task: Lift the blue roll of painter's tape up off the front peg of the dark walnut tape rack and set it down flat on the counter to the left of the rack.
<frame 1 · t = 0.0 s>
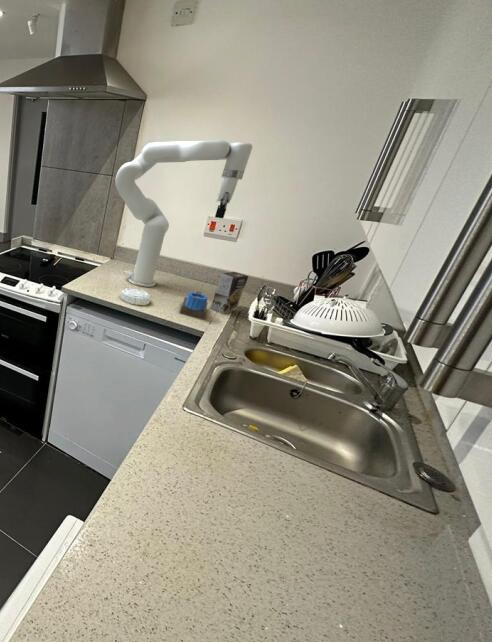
hand: (219, 216, 168), 37 cm above the worktop, tool pointing down, fingers open, 9 cm apart
coffee box: (222, 310, 169), on the worktop
tape roll: (194, 306, 161), point 3 cm above the worktop, touching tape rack
mooncake: (134, 300, 171), on the worktop
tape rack: (192, 310, 165), on the worktop
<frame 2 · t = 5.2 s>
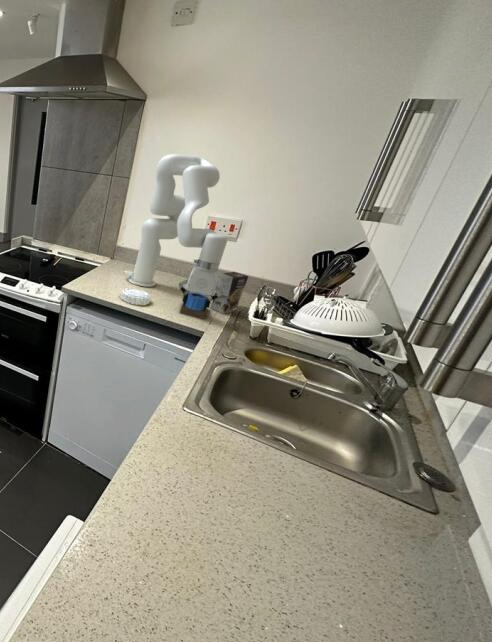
hand: (194, 305, 160), 3 cm above the worktop, tool pointing down, fingers closed on tape roll, 7 cm apart
tape roll: (194, 306, 161), point 3 cm above the worktop, touching gripper, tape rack
everything else where it was.
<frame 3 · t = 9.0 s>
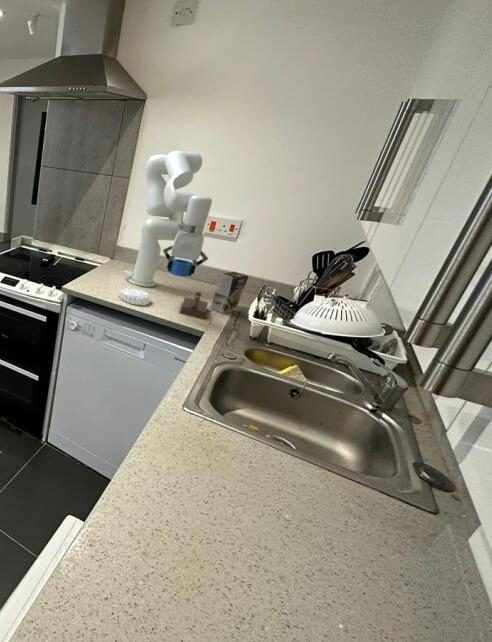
hand: (179, 272, 157), 17 cm above the worktop, tool pointing down, fingers closed on tape roll, 7 cm apart
tape roll: (179, 273, 157), point 16 cm above the worktop, touching gripper
everything else where it was.
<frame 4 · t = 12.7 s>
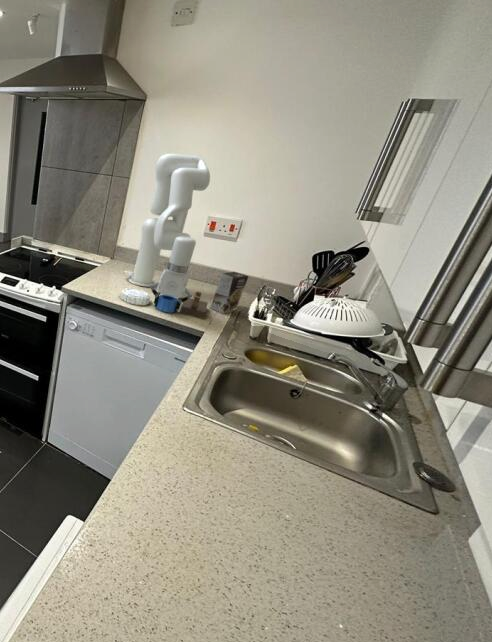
hand: (165, 307, 163), 1 cm above the worktop, tool pointing down, fingers closed on tape roll, 7 cm apart
tape roll: (165, 308, 163), on the worktop, touching gripper
everything else where it was.
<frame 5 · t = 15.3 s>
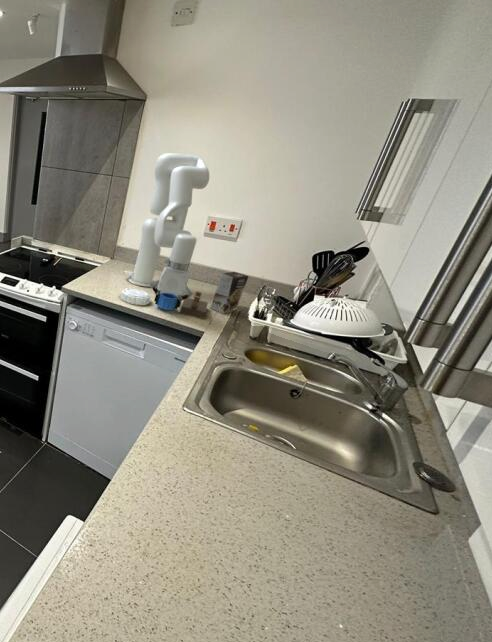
hand: (166, 305, 163), 2 cm above the worktop, tool pointing down, fingers closed on tape roll, 7 cm apart
tape roll: (165, 306, 163), point 1 cm above the worktop, touching gripper
everything else where it was.
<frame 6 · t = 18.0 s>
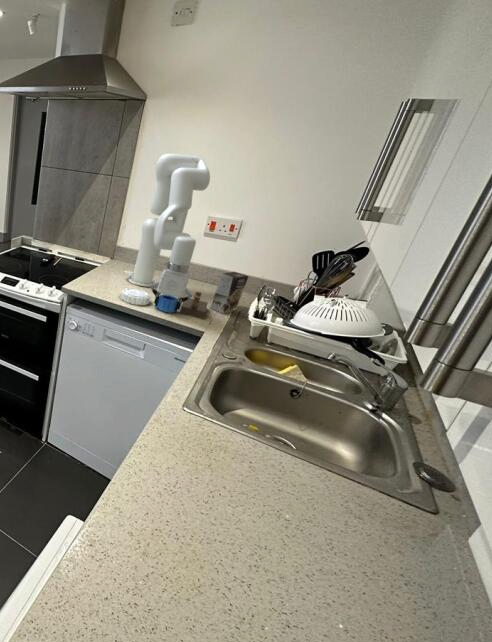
hand: (166, 307, 163), 1 cm above the worktop, tool pointing down, fingers closed on tape roll, 7 cm apart
tape roll: (165, 308, 163), on the worktop, touching gripper
everything else where it was.
when the fingers open (1 cm above the worktop, at t = 22.8 s): tape roll stays where it is, on the worktop.
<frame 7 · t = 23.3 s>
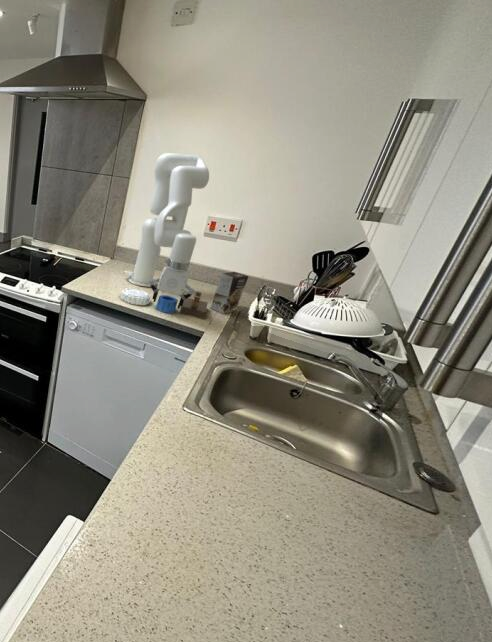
hand: (166, 304, 163), 2 cm above the worktop, tool pointing down, fingers open, 9 cm apart
tape roll: (165, 309, 164), on the worktop
everything else where it was.
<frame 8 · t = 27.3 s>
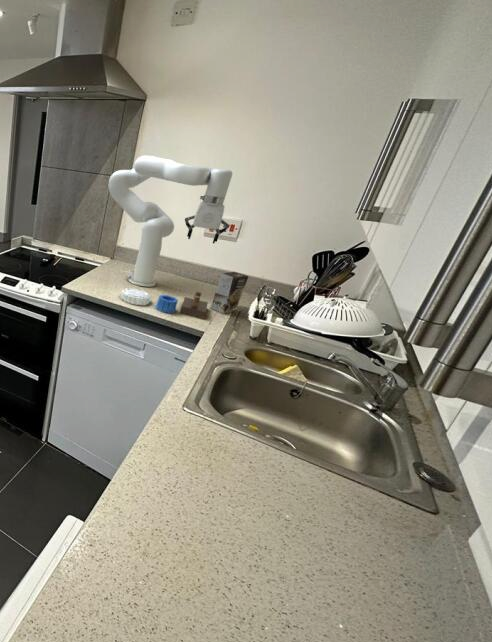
hand: (201, 240, 169), 26 cm above the worktop, tool pointing down, fingers open, 9 cm apart
nothing on the worktop moved.
at the end: tape roll inside the target area (0.2 cm from its centre), on the worktop; tape roll tilted 0°; the gripper is holding nothing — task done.
